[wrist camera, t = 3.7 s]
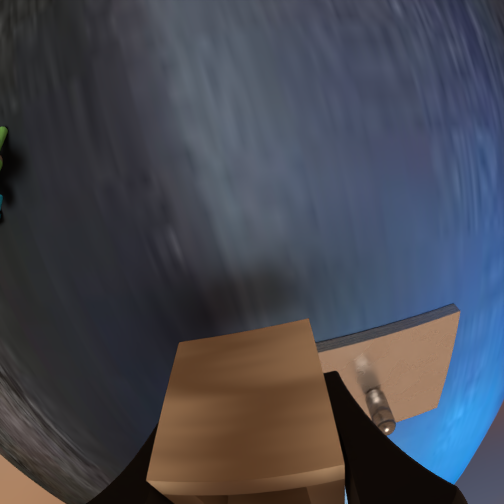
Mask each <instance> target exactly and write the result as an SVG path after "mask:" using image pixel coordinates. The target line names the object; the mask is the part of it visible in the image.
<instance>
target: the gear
mask: <svg viewBox="0 0 504 504" xmlns="http://www.w3.org/2000/svg"><path fill="white" fill-rule="evenodd" d="M7 133H8V130H7V128H5V127H0V150H1V147H2V145H3V142H4V140H5V137H6V135H7ZM2 162H3V160H2V157H1V156H0V170H1V167H2ZM2 201H3V196H2V195H0V209H1V205H2ZM0 217H1V214H0Z"/></svg>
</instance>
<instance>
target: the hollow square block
mask: <svg viewBox="0 0 504 504" xmlns="http://www.w3.org/2000/svg"><path fill="white" fill-rule="evenodd" d="M146 481H147V482H148V483H150V484H151V485H152V486H153V487H154V488H156V489H157V490H158V491H159V492H160V493H162V494H163V495H164V496H165V497H167V498H168V499H169V500H171V501H172V502H173V503H174V504H345V464H344V459H343V455H342V450H341V446H340V441H339V437H338V433H337V428H336V424H335V420H334V416H333V412H332V407H331V403H330V399H329V395H328V391H327V387H326V383H325V379H324V375H323V371H322V367H321V363H320V359H319V356H318V352H317V348H316V344H315V340H314V337H313V333H312V329H311V325H310V322H309V318H308V319H304V320H299V321H295V322H290V323H285V324H280V325H276V326H271V327H266V328H260V329H255V330H250V331H245V332H239V333H234V334H228V335H222V336H216V337H210V338H204V339H198V340H191V341H185V342H179V345H178V349H177V352H176V356H175V360H174V364H173V368H172V371H171V375H170V379H169V383H168V387H167V391H166V395H165V399H164V403H163V407H162V412H161V416H160V420H159V424H158V428H157V433H156V437H155V441H154V446H153V450H152V455H151V459H150V464H149V469H148V473H147V478H146Z"/></svg>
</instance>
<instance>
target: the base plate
mask: <svg viewBox="0 0 504 504" xmlns="http://www.w3.org/2000/svg"><path fill="white" fill-rule="evenodd" d="M459 316H460V310H459V309H458V308H457V306H456V305H455V304H451V305H449V306H446V307H443V308H440V309H437V310H434V311H431V312H428V313H425V314H421V315H418V316H415V317H412V318H409V319H405V320H402V321H399V322H395V323H392V324H388V325H385V326H381V327H378V328H374V329H371V330H367V331H363V332H359V333H356V334H352V335H348V336H344V337H340V338H336V339H331V340H327V341H323V342H318V343H315V344H316V348H317V352H318V356H319V359H320V363H321V367H322V371H323V373H327V372H331V371H337V372H338V373H339V375H340V377H341V379H342V380H343V382H344V384H345V385H346V387H347V389H348V390H349V392H350V393H351V395H352V396H353V398H354V399H355V400H356V402H357V403H358V404H359V406H360V407H361V408H362V409H363V411H364V412H365V413H366V414H367V416H368V417H369V418H370V419H371V420H372V421H373V423H374V424H375V425H376V426H377V427H378V428H379V429H380V430H381V431H382V432H383V433H384V434H385V435H386V436H387V435H390V434H391V433H392V432H393V431H394V430H395V427H396V422H399V421H402V420H405V419H407V418H410V417H413V416H416V415H419V414H421V413H424V412H427V411H429V410H432V409H434V408H437V405H438V402H439V399H440V396H441V393H442V389H443V386H444V382H445V379H446V375H447V371H448V367H449V363H450V359H451V355H452V351H453V346H454V342H455V337H456V332H457V327H458V322H459Z"/></svg>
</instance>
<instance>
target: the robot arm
mask: <svg viewBox="0 0 504 504" xmlns="http://www.w3.org/2000/svg"><path fill="white" fill-rule="evenodd" d="M323 375H324V379H325V383H326V387H327V391H328V395H329V399H330V403H331V407H332V412H333V416H334V420H335V424H336V428H337V433H338V437H339V441H340V446H341V450H342V455H343V459H344V464H345V489H346V494H347V500H348V504H468V503H467V501H466V499H465V497H464V496H463V494H462V492H461V491H460V490H459V488H458V487H457V486H455V485H453V484H451V483H449V482H448V481H446V480H444V479H442V478H441V477H439V476H437V475H435V474H434V473H432V472H431V471H429V470H428V469H426V468H425V467H423V466H422V465H420V464H419V463H418V462H416V461H415V460H414V459H412V458H411V457H410V456H408V455H407V454H406V453H405V452H403V451H402V450H401V449H400V448H399V447H398V446H396V445H395V444H394V443H393V442H392V441H391V440H390V439H389V438H388V437H387V436H386V435H385V434H384V433H383V432H382V431H381V430H380V429H379V428H378V427H377V426H376V425H375V424H374V423H373V421H372V420H371V419H370V418H369V417H368V416H367V414H366V413H365V412H364V411H363V409H362V408H361V407H360V406H359V404H358V403H357V402H356V400H355V399H354V398H353V396H352V395H351V393H350V392H349V390H348V389H347V387H346V385H345V384H344V382H343V380H342V379H341V377H340V375H339V373H338V372H337V371H331V372H327V373H323ZM158 424H159V422H158ZM158 424H157V425H156V427H155V428H154V430H153V431H152V433H151V435H150V436H149V438H148V439H147V441H146V442H145V444H144V445H143V446H142V448H141V449H140V451H139V452H138V453H137V455H136V456H135V457H134V459H133V460H132V461H131V462H130V464H129V465H128V466H127V467H126V468H125V469H124V471H123V472H122V473H121V474H120V475H119V476H118V477H117V478H116V479H115V480H114V481H113V482H112V483H111V484H110V485H109V486H108V487H107V488H106V489H104V490H103V491H102V492H101V493H100V494H98V495H97V496H96V497H95V498H93V499H92V500H91V501H89V502H88V503H86V504H174V503H173V502H172V501H171V500H169V499H168V498H167V497H165V496H164V495H163V494H162V493H160V492H159V491H158V490H157V489H156V488H154V487H153V486H152V485H151V484H150V483H148V482H147V481H146V478H147V473H148V469H149V464H150V459H151V455H152V450H153V446H154V441H155V437H156V433H157V428H158Z"/></svg>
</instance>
